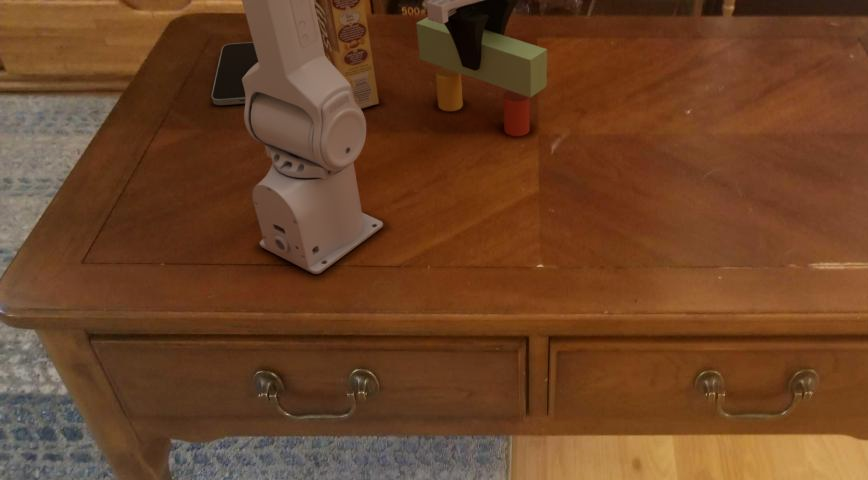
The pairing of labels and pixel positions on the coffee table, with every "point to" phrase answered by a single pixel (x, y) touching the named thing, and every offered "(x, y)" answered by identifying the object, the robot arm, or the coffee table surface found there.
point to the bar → (488, 58)
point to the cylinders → (513, 102)
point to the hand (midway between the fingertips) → (480, 61)
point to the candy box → (349, 46)
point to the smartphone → (233, 73)
